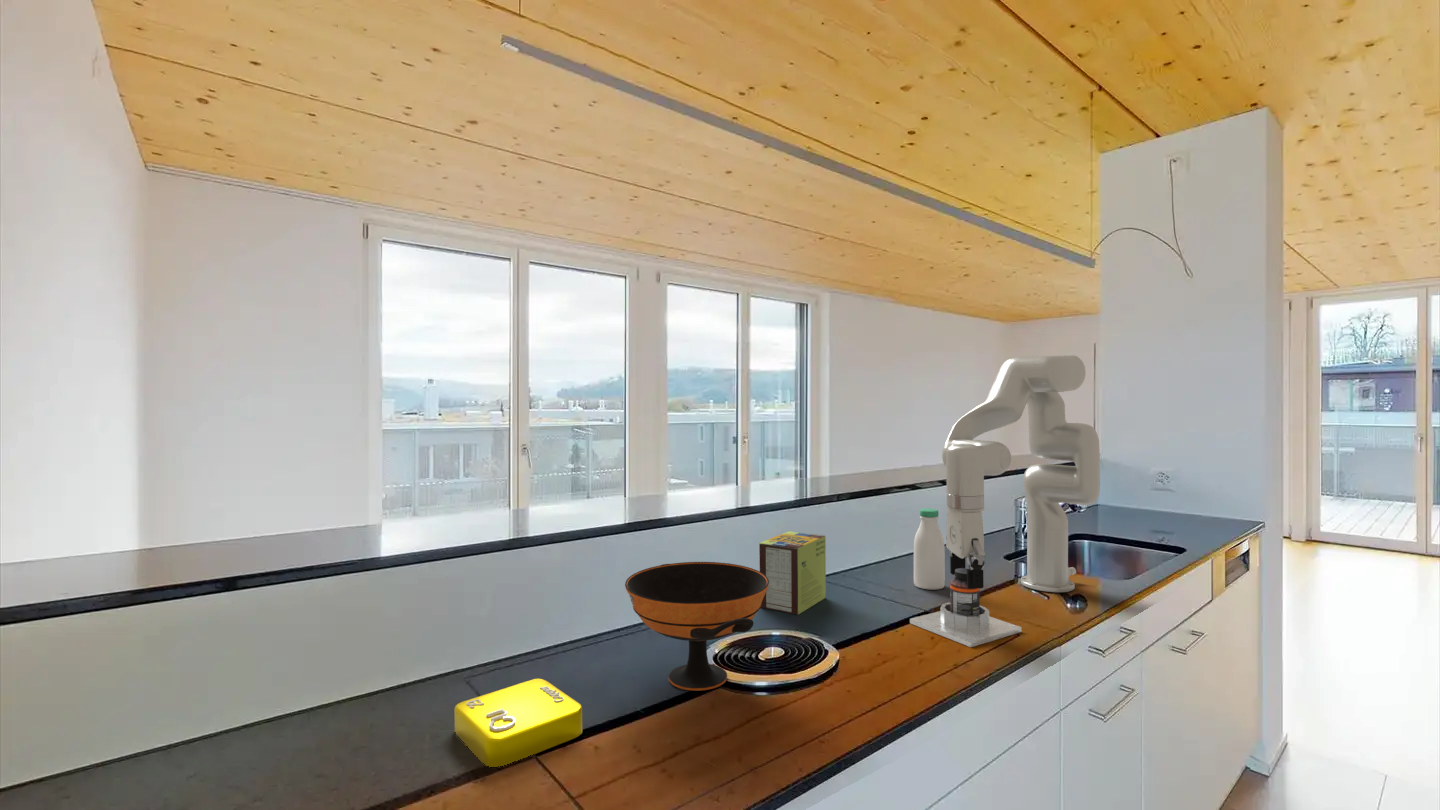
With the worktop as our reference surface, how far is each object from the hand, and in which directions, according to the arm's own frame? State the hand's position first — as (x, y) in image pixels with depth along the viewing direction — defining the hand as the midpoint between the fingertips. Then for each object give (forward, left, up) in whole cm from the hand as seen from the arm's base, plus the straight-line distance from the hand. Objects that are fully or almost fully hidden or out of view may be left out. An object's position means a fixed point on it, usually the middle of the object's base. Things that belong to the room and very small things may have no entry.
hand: (966, 580), depth 143 cm
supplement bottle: (+1, 0, -9) cm, 9 cm away
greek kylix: (+62, -8, -10) cm, 63 cm away
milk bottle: (-16, -25, -10) cm, 31 cm away
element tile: (+94, -6, -11) cm, 95 cm away
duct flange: (+1, 0, -10) cm, 10 cm away
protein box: (+22, -33, -10) cm, 41 cm away
